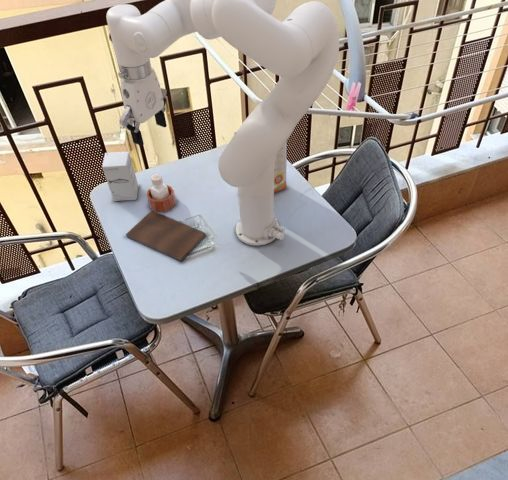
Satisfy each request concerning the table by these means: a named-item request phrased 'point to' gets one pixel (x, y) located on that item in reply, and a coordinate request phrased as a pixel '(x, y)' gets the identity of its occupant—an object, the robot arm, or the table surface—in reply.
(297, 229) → the table surface
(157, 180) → the pepper shaker
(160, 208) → the crock
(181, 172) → the table surface
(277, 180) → the cracker box
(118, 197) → the white packaging box
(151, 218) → the walnut board
